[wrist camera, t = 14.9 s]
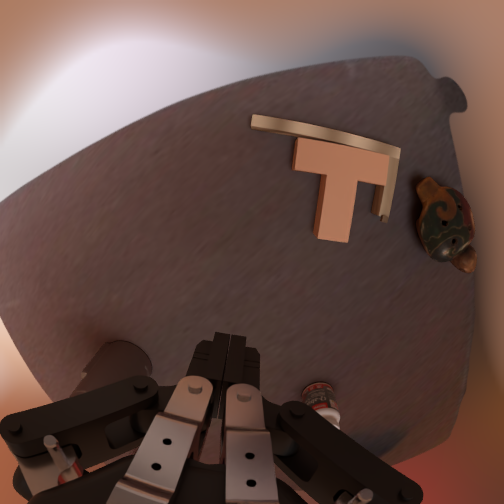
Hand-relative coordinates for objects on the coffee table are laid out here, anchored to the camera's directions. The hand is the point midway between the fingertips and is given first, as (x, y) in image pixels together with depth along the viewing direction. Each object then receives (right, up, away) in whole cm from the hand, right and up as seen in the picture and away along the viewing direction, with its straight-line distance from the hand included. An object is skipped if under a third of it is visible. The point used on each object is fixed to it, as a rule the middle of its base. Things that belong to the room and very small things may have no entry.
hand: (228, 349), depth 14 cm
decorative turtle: (+29, +9, +25) cm, 39 cm away
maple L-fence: (+10, +16, +23) cm, 30 cm away
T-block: (+12, +13, +24) cm, 30 cm away
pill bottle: (+13, -20, +33) cm, 41 cm away
